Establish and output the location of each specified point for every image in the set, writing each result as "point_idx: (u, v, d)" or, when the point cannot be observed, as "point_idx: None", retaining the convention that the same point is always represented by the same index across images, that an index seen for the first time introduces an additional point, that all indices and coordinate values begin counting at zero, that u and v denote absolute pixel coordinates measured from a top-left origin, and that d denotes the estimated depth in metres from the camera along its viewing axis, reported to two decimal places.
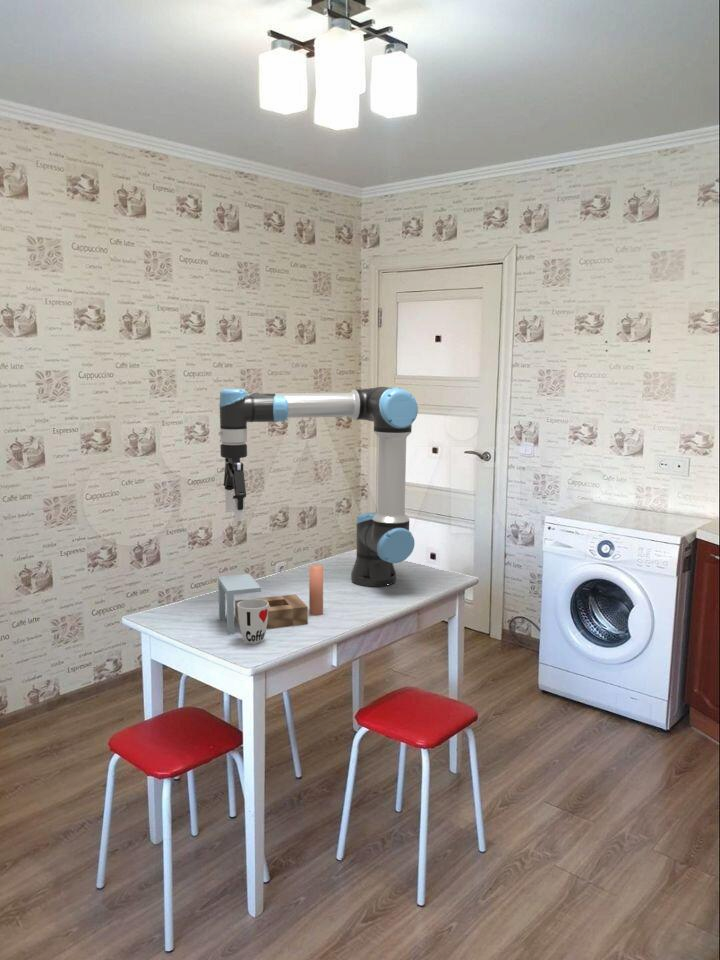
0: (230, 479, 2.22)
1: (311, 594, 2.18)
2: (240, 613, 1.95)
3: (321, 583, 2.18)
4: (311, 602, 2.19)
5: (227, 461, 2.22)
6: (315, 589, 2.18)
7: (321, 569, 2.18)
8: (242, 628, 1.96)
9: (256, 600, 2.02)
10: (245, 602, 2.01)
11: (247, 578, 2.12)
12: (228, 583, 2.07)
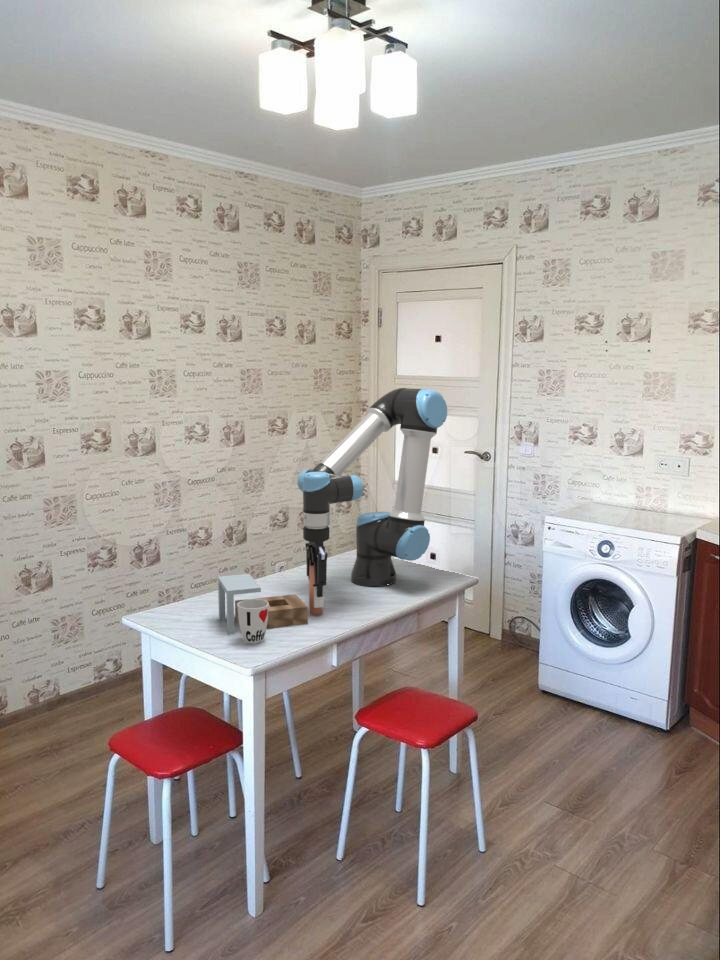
0: None
1: (311, 594, 2.18)
2: (240, 613, 1.95)
3: None
4: (311, 602, 2.19)
5: (308, 546, 2.22)
6: None
7: None
8: (242, 628, 1.96)
9: (256, 600, 2.02)
10: (245, 602, 2.01)
11: (247, 578, 2.12)
12: (228, 583, 2.07)
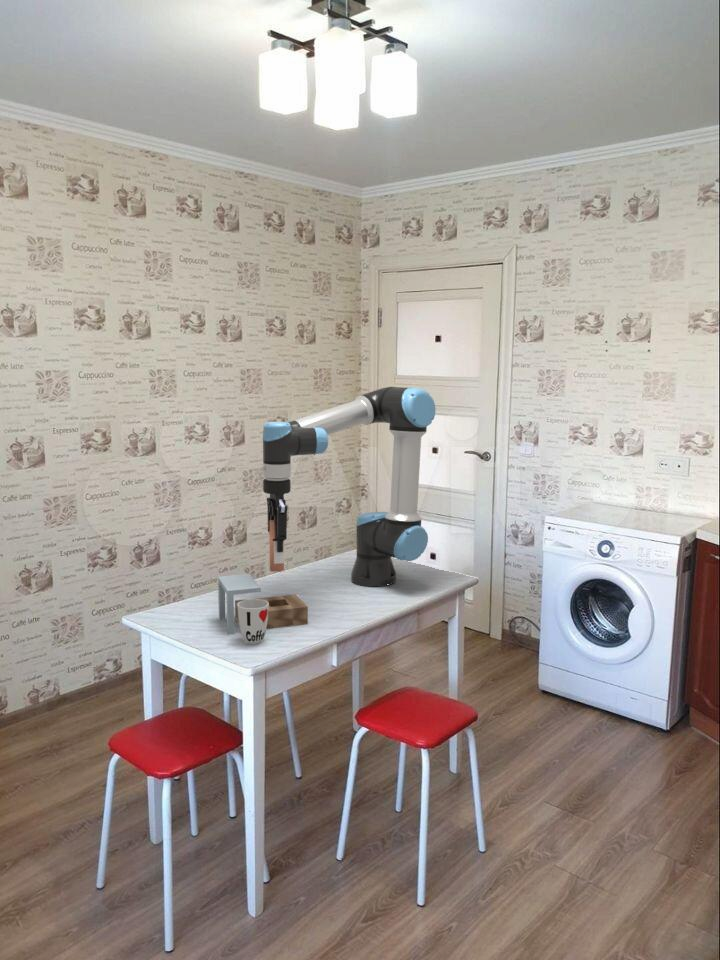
0: (274, 520, 2.12)
1: (271, 549, 2.10)
2: (240, 613, 1.95)
3: None
4: (271, 558, 2.10)
5: None
6: None
7: None
8: (242, 628, 1.96)
9: (256, 600, 2.02)
10: (245, 602, 2.01)
11: (247, 578, 2.12)
12: (228, 583, 2.07)
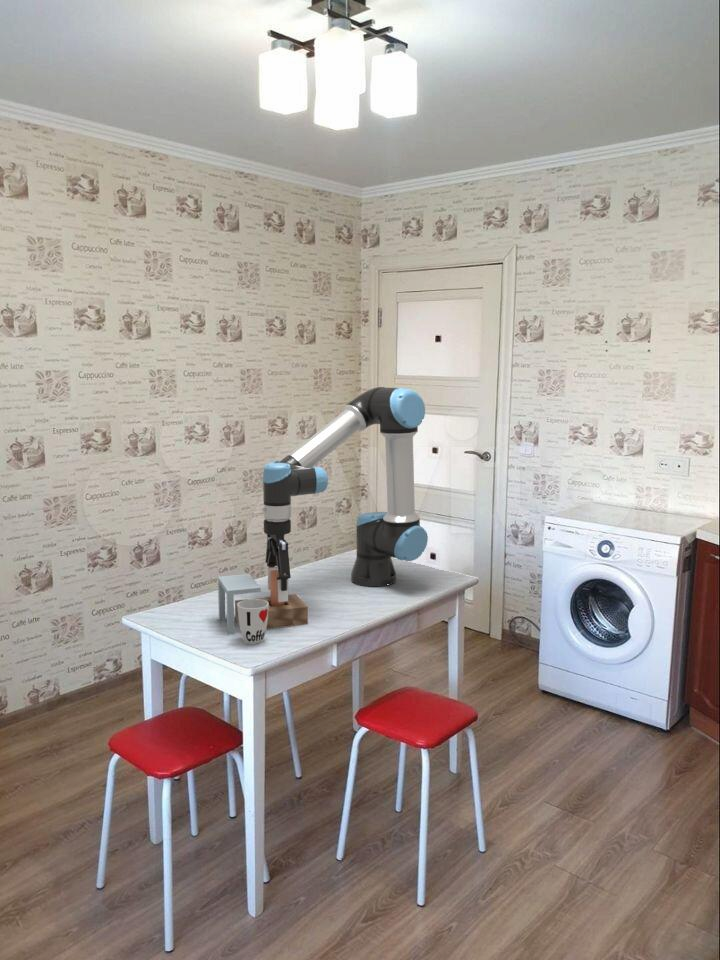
0: (273, 555, 2.15)
1: (272, 600, 2.12)
2: (240, 613, 1.95)
3: None
4: None
5: (269, 536, 2.16)
6: (276, 595, 2.12)
7: None
8: (242, 628, 1.96)
9: (256, 600, 2.02)
10: (245, 602, 2.01)
11: (247, 578, 2.12)
12: (228, 583, 2.07)
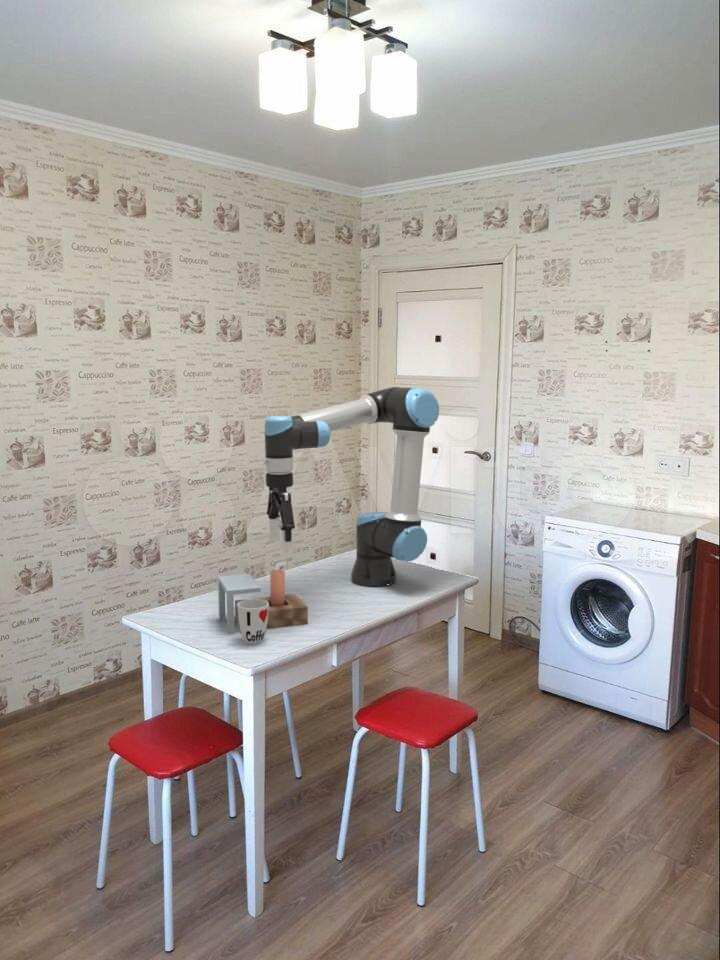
0: (275, 508, 2.16)
1: (272, 600, 2.12)
2: (240, 613, 1.95)
3: (282, 589, 2.12)
4: None
5: (271, 490, 2.16)
6: (276, 595, 2.12)
7: (282, 575, 2.12)
8: (242, 628, 1.96)
9: (256, 600, 2.02)
10: (245, 602, 2.01)
11: (247, 578, 2.12)
12: (228, 583, 2.07)
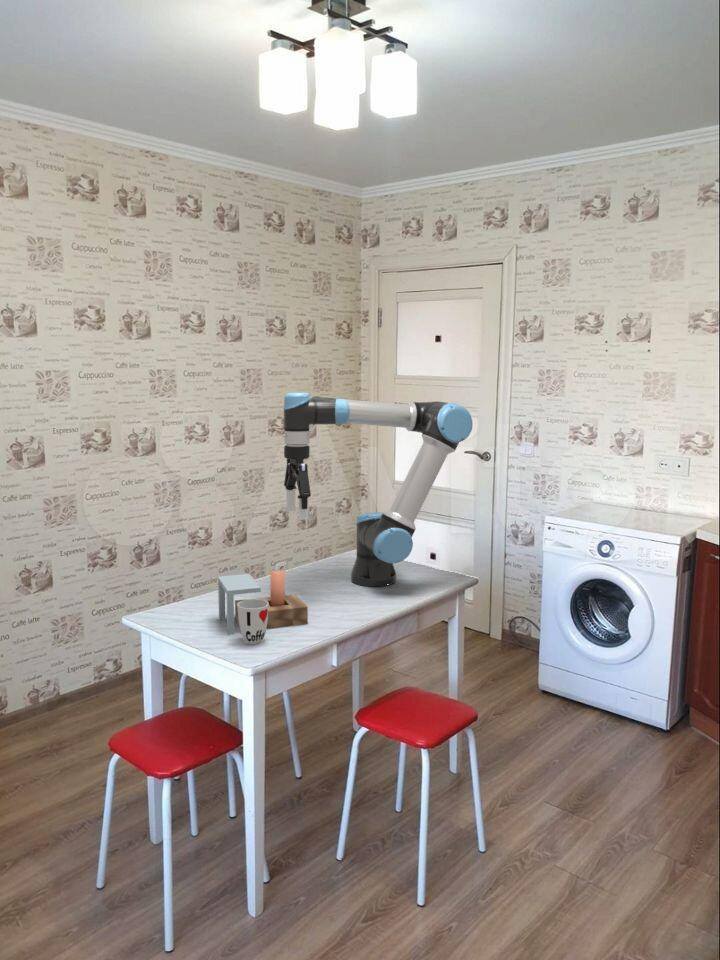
0: (292, 479, 2.30)
1: (272, 600, 2.12)
2: (240, 613, 1.95)
3: (282, 589, 2.12)
4: None
5: (289, 462, 2.30)
6: (276, 595, 2.12)
7: (282, 575, 2.12)
8: (242, 628, 1.96)
9: (256, 600, 2.02)
10: (245, 602, 2.01)
11: (247, 578, 2.12)
12: (228, 583, 2.07)
